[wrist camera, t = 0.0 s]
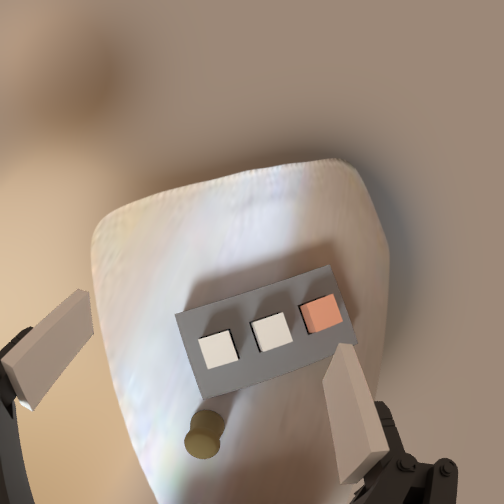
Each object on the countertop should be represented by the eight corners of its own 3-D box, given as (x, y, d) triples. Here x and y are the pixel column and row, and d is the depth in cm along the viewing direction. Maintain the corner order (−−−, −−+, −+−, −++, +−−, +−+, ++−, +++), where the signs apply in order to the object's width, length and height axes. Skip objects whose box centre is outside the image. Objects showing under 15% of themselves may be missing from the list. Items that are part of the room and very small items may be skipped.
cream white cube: (287, 340, 43) (292, 341, 39) (260, 350, 42) (263, 351, 38) (278, 314, 44) (282, 312, 40) (251, 323, 43) (253, 322, 39)
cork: (193, 441, 42) (184, 465, 32) (187, 411, 44) (175, 429, 33) (227, 438, 43) (226, 463, 32) (221, 408, 44) (218, 427, 34)
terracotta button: (334, 322, 44) (343, 321, 40) (309, 332, 43) (316, 332, 39) (324, 297, 45) (333, 293, 41) (299, 306, 44) (306, 303, 41)
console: (344, 343, 49) (358, 343, 43) (206, 392, 45) (203, 399, 39) (319, 272, 52) (329, 264, 47) (181, 316, 49) (174, 314, 43)
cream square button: (237, 357, 42) (238, 360, 38) (210, 366, 41) (207, 369, 37) (228, 330, 43) (228, 330, 39) (201, 339, 42) (197, 339, 38)
